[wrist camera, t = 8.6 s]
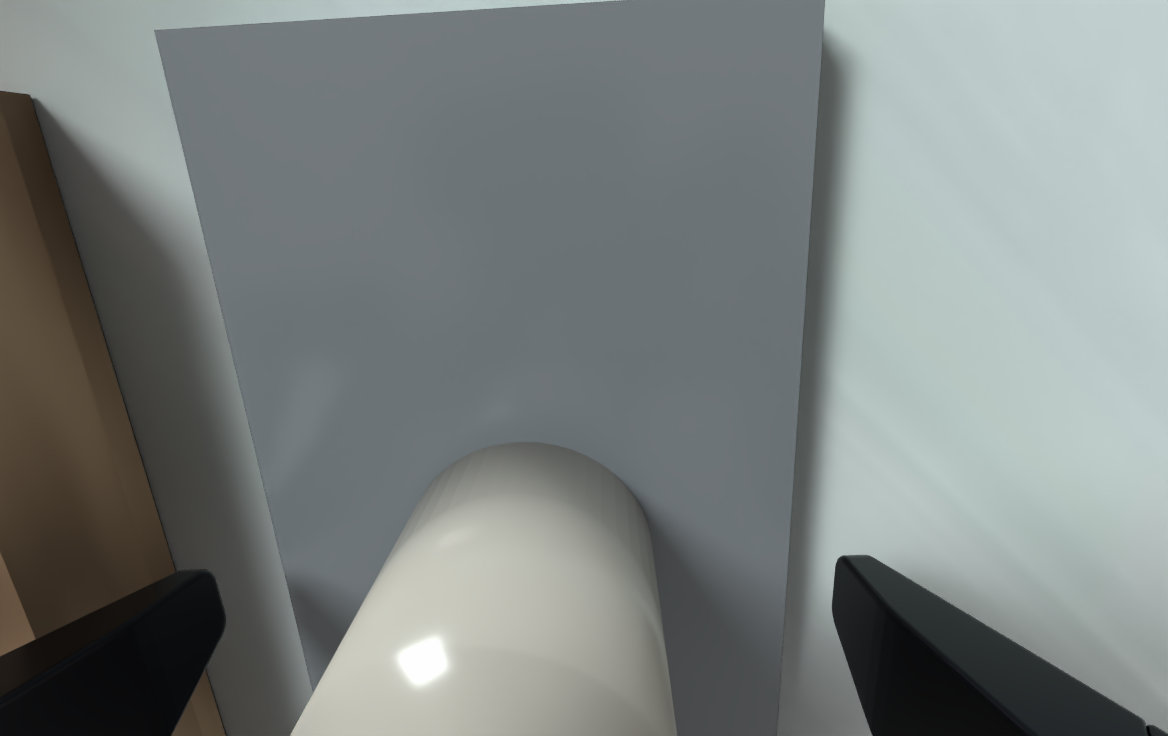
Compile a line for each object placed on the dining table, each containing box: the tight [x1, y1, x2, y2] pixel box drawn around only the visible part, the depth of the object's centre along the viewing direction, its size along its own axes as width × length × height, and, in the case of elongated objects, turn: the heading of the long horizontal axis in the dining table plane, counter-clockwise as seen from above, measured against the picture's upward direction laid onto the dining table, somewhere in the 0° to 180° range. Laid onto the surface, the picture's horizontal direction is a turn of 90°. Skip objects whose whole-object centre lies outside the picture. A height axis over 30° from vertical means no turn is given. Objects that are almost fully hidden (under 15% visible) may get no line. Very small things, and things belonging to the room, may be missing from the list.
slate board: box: [154, 0, 825, 736], centre depth 10 cm, size 15×8×1 cm, turn 3°
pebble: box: [290, 442, 677, 736], centre depth 8 cm, size 4×4×4 cm
